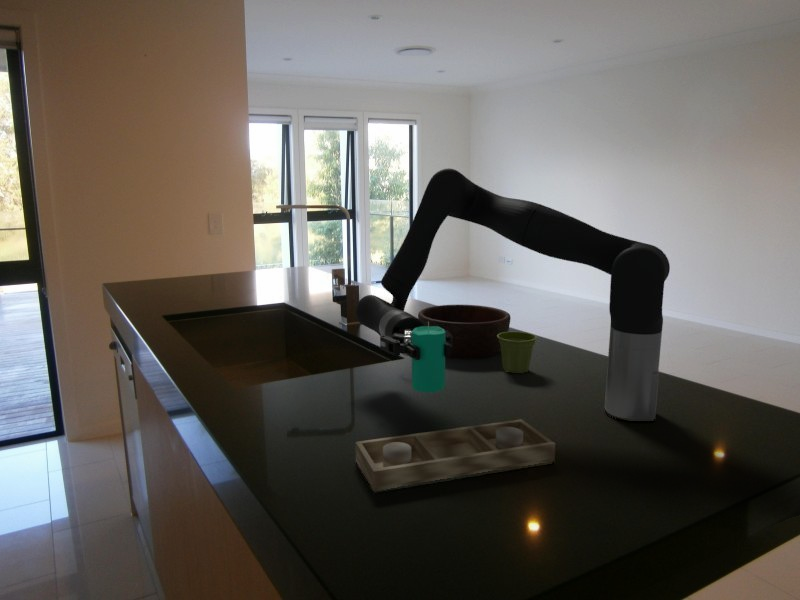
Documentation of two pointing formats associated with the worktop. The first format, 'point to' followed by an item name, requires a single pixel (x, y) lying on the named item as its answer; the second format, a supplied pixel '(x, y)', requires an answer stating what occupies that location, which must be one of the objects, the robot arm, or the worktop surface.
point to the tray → (451, 453)
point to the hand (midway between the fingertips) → (433, 352)
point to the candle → (429, 359)
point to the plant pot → (516, 350)
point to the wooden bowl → (469, 327)
